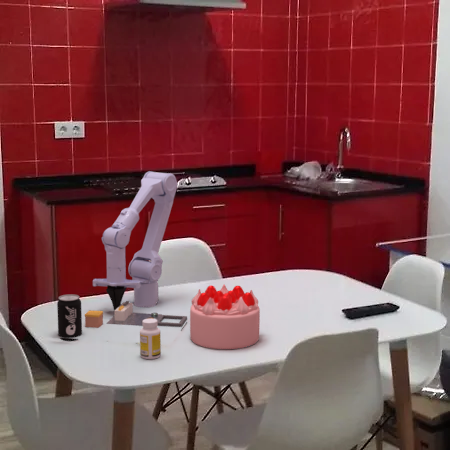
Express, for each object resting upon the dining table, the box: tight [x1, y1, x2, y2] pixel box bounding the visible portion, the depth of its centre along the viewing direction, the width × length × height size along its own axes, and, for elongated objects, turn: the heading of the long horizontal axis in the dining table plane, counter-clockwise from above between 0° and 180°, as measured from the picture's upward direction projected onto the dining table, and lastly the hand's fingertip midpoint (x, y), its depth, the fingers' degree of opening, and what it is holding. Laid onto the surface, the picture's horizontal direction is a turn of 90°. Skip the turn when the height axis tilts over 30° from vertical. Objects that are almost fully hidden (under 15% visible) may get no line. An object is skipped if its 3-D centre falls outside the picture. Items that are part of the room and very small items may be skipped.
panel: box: [106, 312, 163, 327], centre depth 229 cm, size 12×14×2 cm
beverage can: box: [56, 293, 83, 342], centre depth 214 cm, size 7×7×12 cm
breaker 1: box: [114, 306, 128, 321], centre depth 229 cm, size 4×3×4 cm
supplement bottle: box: [139, 319, 162, 360], centre depth 200 cm, size 5×5×10 cm
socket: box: [157, 314, 188, 332], centre depth 226 cm, size 8×8×2 cm
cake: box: [189, 284, 261, 350], centre depth 215 cm, size 20×20×14 cm
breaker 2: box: [119, 300, 134, 316], centre depth 234 cm, size 4×3×4 cm
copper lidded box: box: [84, 310, 104, 329], centre depth 223 cm, size 4×4×5 cm
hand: (117, 309), depth 235 cm, fingers closed
